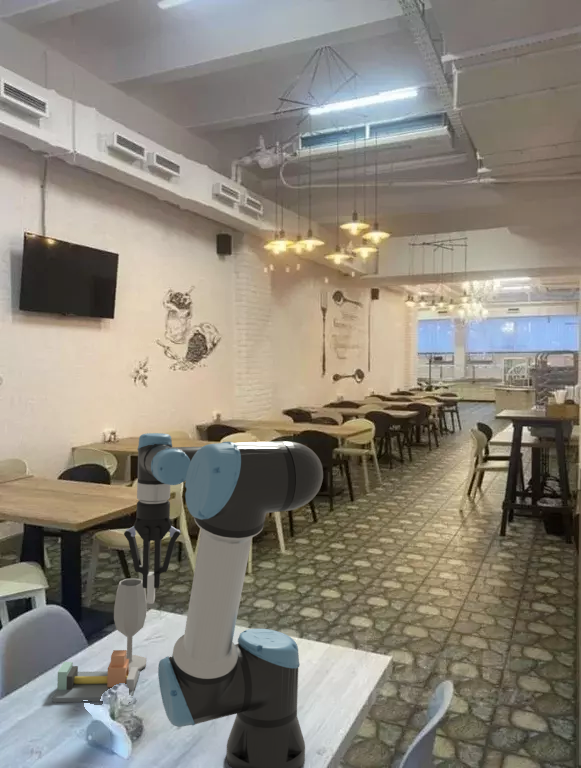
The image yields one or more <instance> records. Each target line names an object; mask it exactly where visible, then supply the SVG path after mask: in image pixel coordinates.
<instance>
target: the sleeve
mask: <svg viewBox="0 0 581 768" xmlns="http://www.w3.org/2000/svg"><path fill="white" fill-rule="evenodd" d="M126 657H127V649H123V650H122V649H120V650H119V649H115V650H113V651H112V653H111V655H110V662H109V664H108V666H107V671H108V679H107V687H113V686H114V685H116V684H119V683H125V684H126V676H128V674H129V659H126Z"/></svg>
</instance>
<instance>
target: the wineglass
mask: <svg viewBox="0 0 581 768" xmlns="http://www.w3.org/2000/svg"><path fill="white" fill-rule="evenodd" d="M114 600H115V601H114V606H113V621H114V625H115V629H116V630H117V631H118V632H119V633H121V634H122V635H124V636H125V637H126V650H127V657H126V659H129V671H130V669H131V667H138V671H140V672H141V670H143V669H144V668H146V667H147V657H145V656H141V655H138V654H137V655H136V654H133V637H134V636H135V635H137V633H139V631H140V630H142V629H143V628H144V626H145V622H146V618H147V592H146V588H143V579H140V578H135V577H134V578H133V577H132V578H125V579H122V580H120V581H119V583H118V585H117V589H116V594H115V599H114Z"/></svg>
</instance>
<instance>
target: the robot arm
mask: <svg viewBox="0 0 581 768" xmlns="http://www.w3.org/2000/svg"><path fill="white" fill-rule="evenodd" d="M137 453H138V454H137V482H136V483H137V484H136V485H137V487H136V488H137V490H136V499H137V500H138V501H137V502H136V517H135V518H136V520H135V522H134V524H133V526H132V527H130V528H126V529H125V531H124V532H123V535H124V537H125V538H126V540H127V542H128V545H129V550H130V555H131V560H132V563H133V568H134V572H135V573H139V574H142V580H143V588H145V589H146V590H147V591H146V605H147V604H148V605H149V604H154V603H155V600H156V589H159V587H160V584H161V574H162V573H167V571H168V569H169V567H170V562H171V559H172V555H173V551H174V548H175V544H176V541H177V539H178V538H179V536H180V535H181V533H182V532H181V529H180V528H175V527H174V526H172V525H173V524H172V521H171V518H170V517H171V516H170V513H171V512H170V511H171V501H170V500H169V499H170V498H171V486H177V485H180V484H182V483H184V482H185V485H184V487H185V488H186V491H185V493H184V496H185V504H186V507H187V510H188V512H189V514H190V515H191V516H192V517H193V519H194V522H195V524H196V526H197V527H198V528H199V529H200V534H199V539H198V540H199V541H198V548H197V554H196V561H195V567H194V570H193V579H192V585H191V591H190V597H189V603H188V609H187V615H186V616H187V617H186V622H185V628H184V629H185V630H184V633H183V634H182V635H181V636H180V637H179V638H178V639H177V640H176V641H175V643H174V647H173V650H172V655H171V656H168V655H167V656H165V657H164V658H161V659H160V661H158V662H159V663H158V671H157V673H158V682H159V683H158V684H159V690H160V696H161V699H162V700H161V701H162V705H163V707H164V711H165V714H166V717H167V720H168V721H169V722H170V724H171V725H172V726H175V727H178V728H182V727H187V726H196V725H198V724H203V723H207V722H209V721H213V720H217V719H222V718H224V717H229V716H232V715H235V718H234V722H233V724H232V726H231V730H230V733H229V736H228V739H227V742H226V758H225V759H226V761H227V763H228V766H229V767H230V766H231V767H232V768H301V767H302V766H303V765H304V764H305V763H304V762H305V759H306V758H305V757H306V744H305V743H306V742H305V740H304V735H303V731H302V729H301V728H302V727H301V726H300V725H301V724H300V722H299V719H298V696H299V695H298V693H299V691H298V690H299V667H300V659H299V658H300V657H299V655H300V654H299V646H298V644H297V643H296V641H295V640H294V639H293V638H292V637H291V636H289V635H288V634H286V633H283V632H281V631H278V630H274V629H270V628H269V629H268V628H248V629H245V630H243V631H242V632H241V633H240V634H238V635H239V636H238V638H237V644H235V642H234V635H235V628H236V626H237V625H236V624H237V619H238V614H239V608H240V604H241V603H240V602H241V598H242V593H243V587H244V581H245V577H246V572H247V566H248V560H249V556H250V552H251V551H250V550H251V547H252V546H251V545H252V540H253V538H254V537H256V536H257V535H259V534H260V533H261V532H262V531H263V529H264V526H265V521H266V515H267V514H268V513H269V514H270V513H280V512H286V511H292V510H293V511H294V510H297V509H299V508H301V507H303V506H305V505H307V504H308V503H309V502H311V501H312V500H313V499H314V498H315V497H316V495H317V494H318V493H319V491H320V489H321V486H322V483H323V481H324V480H323V479H324V471H323V464H322V462H321V460H320V458H319V456H318V455H317V454H316V453H315V452H314V451H313V449H311V448H309V447H308V446H306V445H305V444H302V443H299V442H295V441H290V440H289V441H288V440H286V441H285V440H280V441H256V442H255V441H248V442H247V441H246V442H233V441H222V442H220V443H219V442H218V443H217V442H216V443H209V444H205V445H203V446H176V447H175V446H173V443H172V436H171V435H170V434H168V433H163V432H162V433H161V432H159V433H158V432H157V433H156V432H153V433H151V432H149V433H148V432H147V433H142V434H141V435H140V436H139V438H138V444H137ZM168 533H169V537H170V540H169V543H168V546H167V550H166V553H165V556H164V557H165V558H164V560H163V561H164V562H163V565H161V563H162V540H163V539H164V538H165V536H166V535H167V534H168ZM137 534H138V535H139V536H140V538H141V539H142V542H143V543H142V547H143V548H142V562H141V557H140V552H139V548H138V545H137V539H136V535H137ZM151 541H154V561H153V563H154V564H153V565H154V566H153V571H150V569H151V568H150V564H151V563H150V562H151V561H150V560H151V557H150V556H151V555H150V554H151ZM231 767H230V768H231Z"/></svg>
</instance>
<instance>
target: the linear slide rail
mask: <svg viewBox="0 0 581 768" xmlns="http://www.w3.org/2000/svg"><path fill="white" fill-rule="evenodd" d="M73 664H74V663H73V661H63V663H62V664H61V666H60V668H59V670H58V671H57V688H56V689H57V690H56V691H55V693H54V695H53V697H52V703H82V702H81V701H83V700H88V701H92V702H93V703H95V702H98V701H100V699H101V696H102V694H103V693H104V692H105V691H107V690H108V689H110V688H112V687H107V679H108V670H107V671H104V670H103V671H79V665H78V666H77V665H73ZM140 672H141V670H140V671H138V667H131V669H130V671H129V674H128V676H126V684H127V686H128V688H129V695H131V696H133V697H134V693H135V691H136V688H137V685H138V681H139V678H140V674H141V673H140Z"/></svg>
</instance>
